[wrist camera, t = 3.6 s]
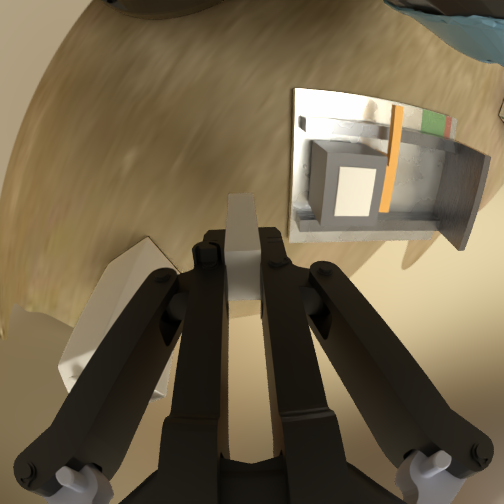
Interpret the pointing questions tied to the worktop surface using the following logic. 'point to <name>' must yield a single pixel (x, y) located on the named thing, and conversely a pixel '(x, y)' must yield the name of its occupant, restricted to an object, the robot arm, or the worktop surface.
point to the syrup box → (502, 112)
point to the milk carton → (112, 310)
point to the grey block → (346, 183)
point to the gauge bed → (407, 173)
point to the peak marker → (392, 156)
